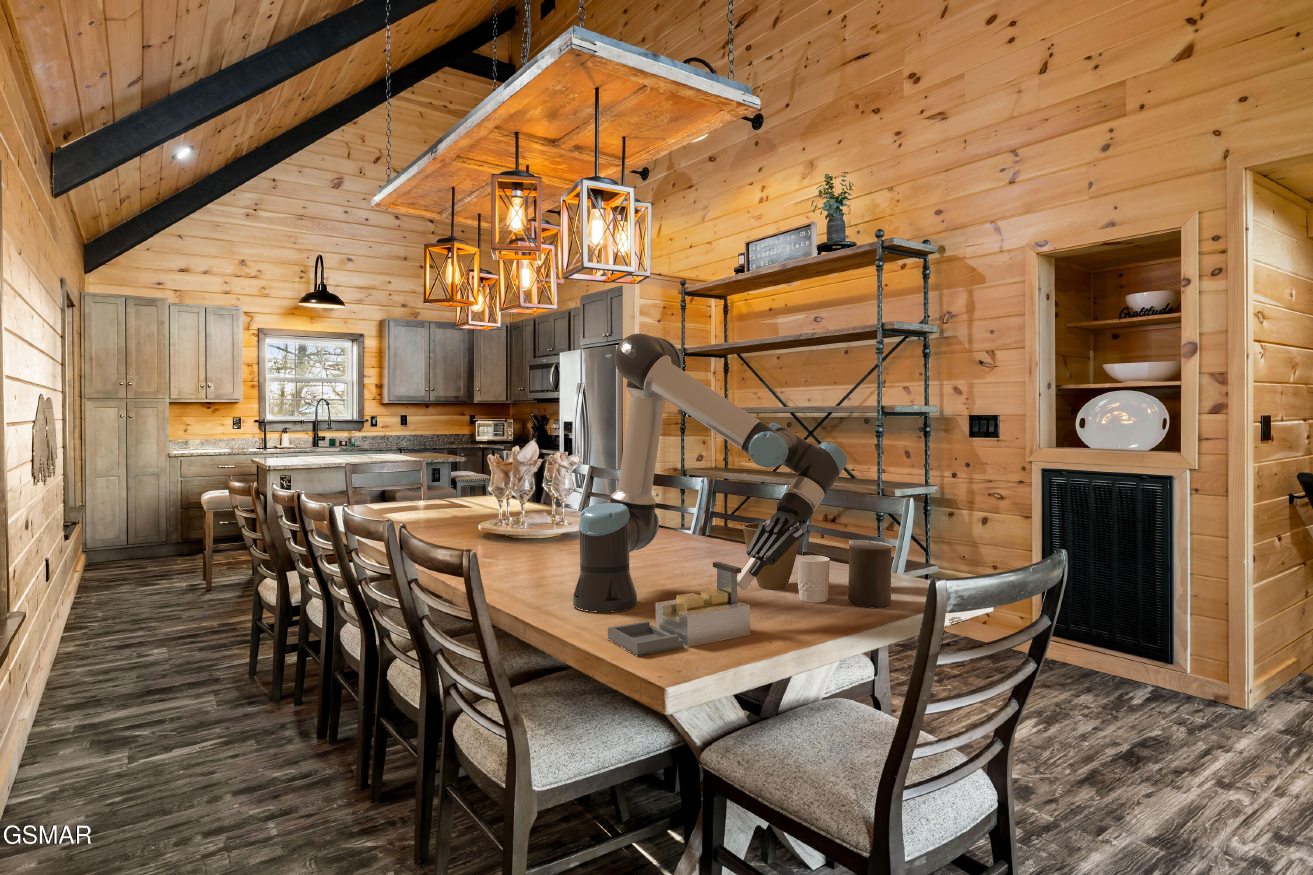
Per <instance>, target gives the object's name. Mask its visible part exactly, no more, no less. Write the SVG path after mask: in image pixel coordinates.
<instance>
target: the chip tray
mask: <svg viewBox="0 0 1313 875" xmlns="http://www.w3.org/2000/svg"><path fill="white" fill-rule="evenodd" d="M650 623H651V622H650V621H648V620H647V621H645V620H644V621H640V622H634V623H627V624H621V625H617V626H616V625H615V626H610V627H607V640H608V639H610V640H611V641H613V642H614V643H616V644H618V645H619V646H622V647H623V648H625V649H626V650H628V651H630V652H631V653H634V654H635V655H637V656H639V657H642V656H641V655H645V656H648V655H647V654H650V655H653V654H652V653H655V654H658V653H657V652H660V653H663V651H665V652H669V651H668V650H670V651H674V650H680V649H684V645H683V640H682V639H680V638H679V636H678V635H676V634H675V635H671V634H669V633H667V632H665V631H663V630H661V629H658V628H656V626H654V625H652V624H650ZM614 643H613V644H614ZM619 646H618V647H619ZM626 650H625V651H626ZM628 651H627V652H628ZM630 652H629V653H630ZM631 653H630V654H631ZM635 655H634V656H635ZM637 656H636V657H637Z"/></svg>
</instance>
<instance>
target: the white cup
mask: <svg viewBox="0 0 1313 875" xmlns="http://www.w3.org/2000/svg"><path fill="white" fill-rule="evenodd" d="M795 560H796V572H797V573H796V574H797V576H796V577H797V588H798V596H799V597H798V599H799V600H800V601H802V602H805V603H811V604H812V603H813V604H814V603H815V604H817V603H818V604H819V603H820V604H821V603H826V602H828V598H829V597H828V595H829V594H828V593H829V592H828V591H829V584H830V569H831V566H830V565H831V564H830V563H831V558H829V557H826V556H822V555H811V554H809V555H799V556H796V559H795Z"/></svg>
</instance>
